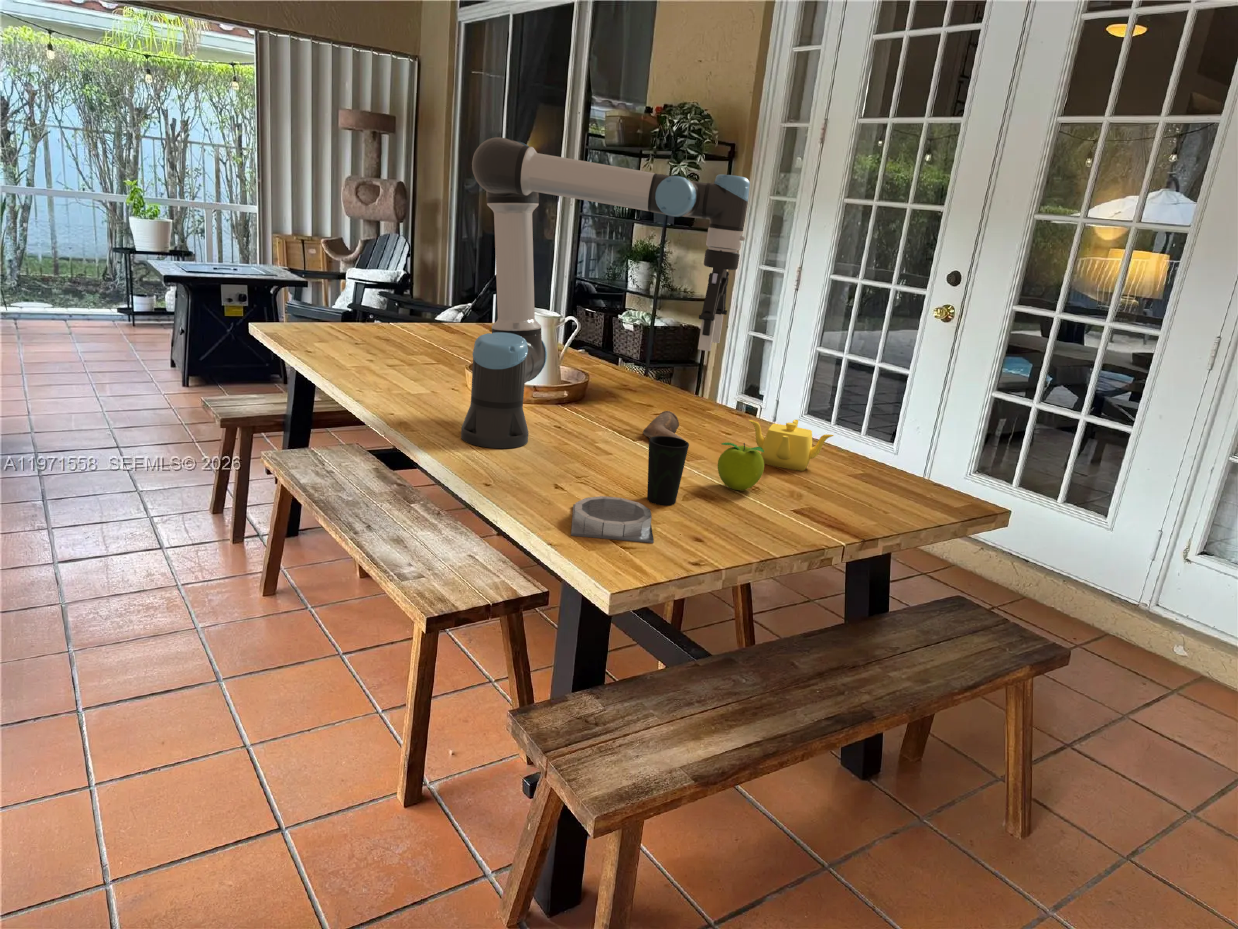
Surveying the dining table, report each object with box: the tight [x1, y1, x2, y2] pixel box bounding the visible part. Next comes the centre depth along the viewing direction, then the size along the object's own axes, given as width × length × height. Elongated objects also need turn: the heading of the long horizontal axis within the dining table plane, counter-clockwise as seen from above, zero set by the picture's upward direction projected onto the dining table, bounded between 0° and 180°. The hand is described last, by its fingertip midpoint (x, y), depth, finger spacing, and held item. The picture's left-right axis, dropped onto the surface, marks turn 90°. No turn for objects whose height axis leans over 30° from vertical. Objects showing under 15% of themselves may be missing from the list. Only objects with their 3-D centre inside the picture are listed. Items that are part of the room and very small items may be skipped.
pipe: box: [642, 410, 685, 440], centre depth 205 cm, size 6×17×10 cm
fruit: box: [717, 441, 765, 492], centre depth 175 cm, size 9×9×10 cm
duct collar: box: [570, 495, 655, 544], centre depth 148 cm, size 14×14×3 cm
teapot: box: [748, 419, 835, 472], centre depth 197 cm, size 15×14×10 cm
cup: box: [646, 436, 690, 507], centre depth 162 cm, size 8×8×12 cm
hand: (708, 346), depth 190 cm, fingers open, 13 cm apart
